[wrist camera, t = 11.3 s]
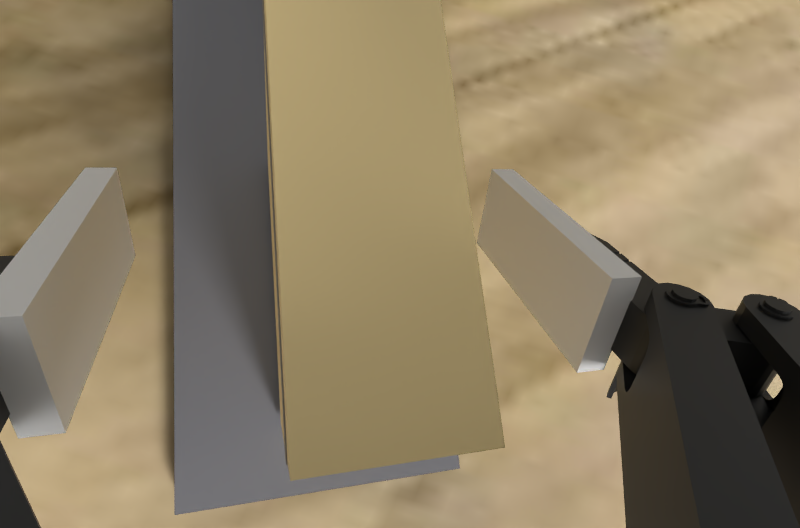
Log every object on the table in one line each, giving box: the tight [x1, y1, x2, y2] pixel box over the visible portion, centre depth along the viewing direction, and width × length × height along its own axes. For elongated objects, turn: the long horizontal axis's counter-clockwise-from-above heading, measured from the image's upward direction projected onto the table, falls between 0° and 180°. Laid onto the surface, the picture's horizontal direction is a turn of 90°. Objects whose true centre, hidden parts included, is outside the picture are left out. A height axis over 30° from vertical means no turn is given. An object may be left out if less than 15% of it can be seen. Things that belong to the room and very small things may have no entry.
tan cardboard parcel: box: [262, 0, 505, 481], centre depth 13 cm, size 10×3×12 cm, turn 6°
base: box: [173, 0, 460, 515], centre depth 22 cm, size 36×10×2 cm, turn 6°
